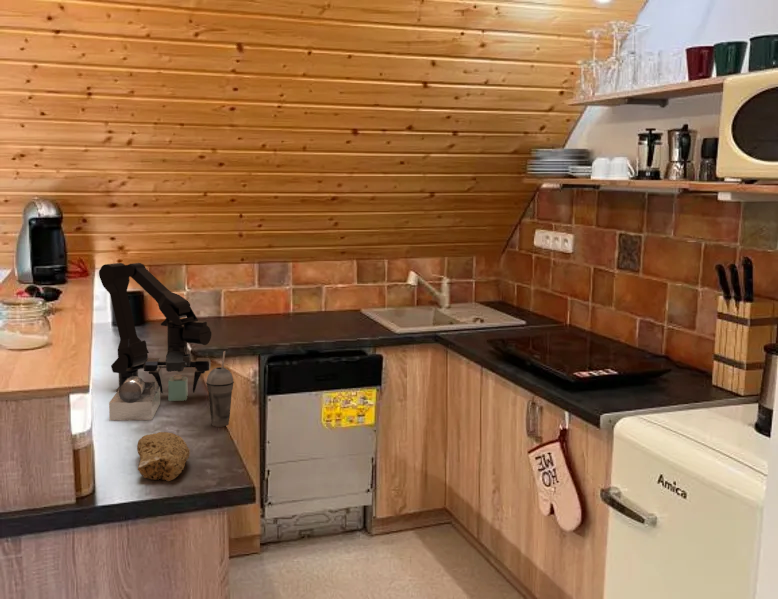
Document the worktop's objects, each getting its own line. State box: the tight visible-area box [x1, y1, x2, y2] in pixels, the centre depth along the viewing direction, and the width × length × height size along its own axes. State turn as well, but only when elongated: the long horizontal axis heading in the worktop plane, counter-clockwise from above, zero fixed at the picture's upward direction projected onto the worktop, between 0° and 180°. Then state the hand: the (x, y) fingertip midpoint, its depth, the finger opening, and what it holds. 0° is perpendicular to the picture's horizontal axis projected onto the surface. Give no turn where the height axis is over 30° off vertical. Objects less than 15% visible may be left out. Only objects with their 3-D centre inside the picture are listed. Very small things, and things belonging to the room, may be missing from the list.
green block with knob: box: [167, 374, 189, 402], centre depth 228 cm, size 5×5×7 cm
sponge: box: [136, 431, 191, 482], centre depth 174 cm, size 13×8×20 cm
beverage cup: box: [205, 350, 235, 428], centre depth 204 cm, size 7×7×20 cm
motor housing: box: [108, 376, 161, 421], centre depth 213 cm, size 16×11×11 cm
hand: (178, 392), depth 228 cm, fingers open, 9 cm apart
